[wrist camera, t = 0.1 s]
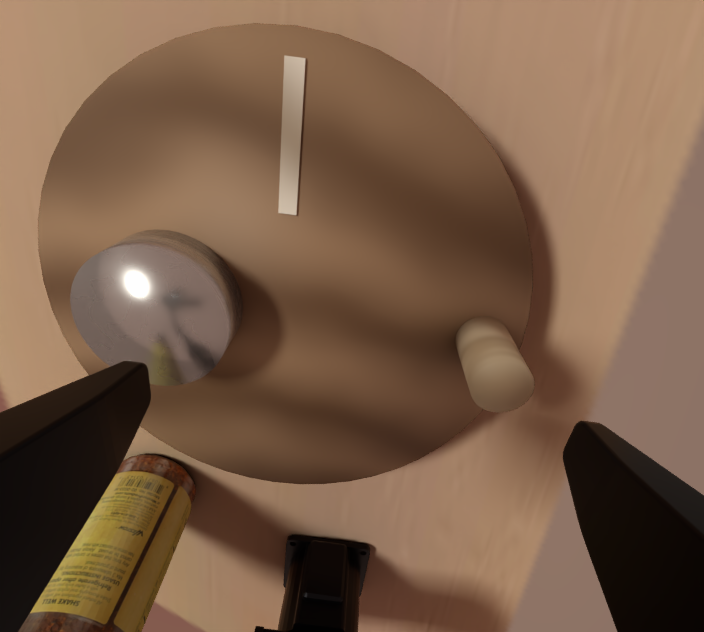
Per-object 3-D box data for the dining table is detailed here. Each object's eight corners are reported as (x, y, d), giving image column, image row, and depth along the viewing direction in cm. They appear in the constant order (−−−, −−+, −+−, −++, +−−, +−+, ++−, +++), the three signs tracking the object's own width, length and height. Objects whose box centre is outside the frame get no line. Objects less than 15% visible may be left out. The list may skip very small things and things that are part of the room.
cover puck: (243, 365, 23) (228, 394, 21) (113, 348, 23) (84, 375, 21) (243, 240, 20) (225, 258, 17) (92, 219, 20) (55, 235, 17)
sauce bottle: (99, 468, 31) (-259, 944, 14) (158, 436, 30) (-167, 937, 12) (162, 521, 34) (-77, 986, 16) (220, 494, 32) (24, 985, 14)
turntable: (459, 486, 28) (476, 569, 23) (99, 438, 28) (39, 512, 23) (598, 71, 17) (688, 60, 12) (7, -9, 17) (-145, -52, 12)
